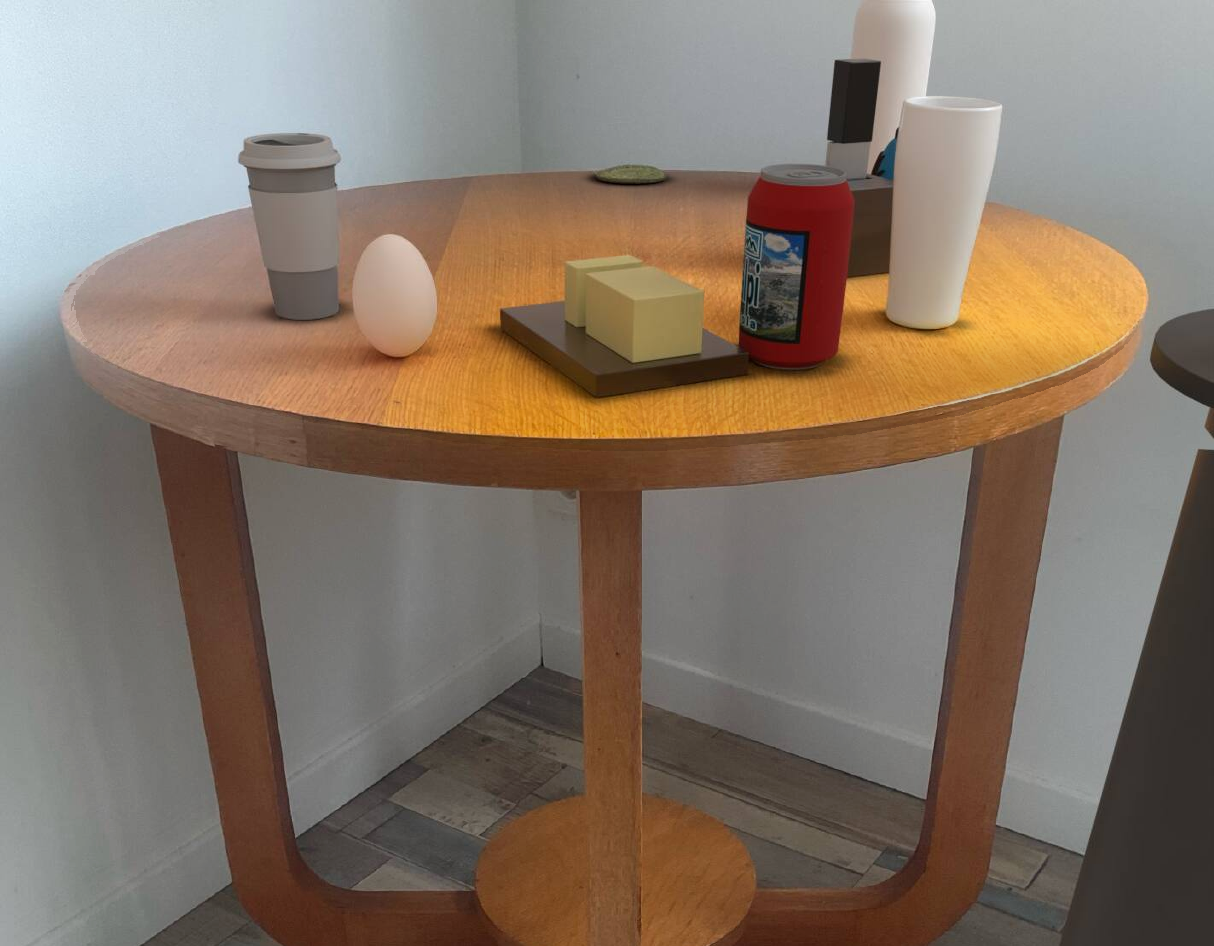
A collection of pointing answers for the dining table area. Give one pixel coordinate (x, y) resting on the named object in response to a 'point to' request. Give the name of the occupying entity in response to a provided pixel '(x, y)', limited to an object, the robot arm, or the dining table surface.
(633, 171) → the medallion
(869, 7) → the bottle
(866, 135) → the knife
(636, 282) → the butter block
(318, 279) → the cup
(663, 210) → the dining table surface
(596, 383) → the board
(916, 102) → the drinking glass
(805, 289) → the beverage can
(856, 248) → the knife block
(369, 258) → the egg
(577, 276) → the butter slice
